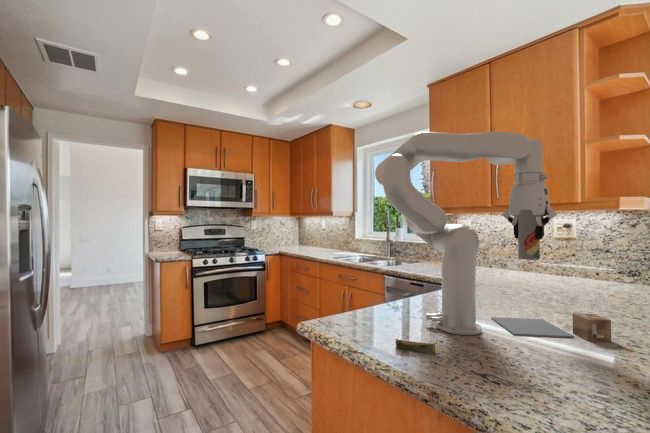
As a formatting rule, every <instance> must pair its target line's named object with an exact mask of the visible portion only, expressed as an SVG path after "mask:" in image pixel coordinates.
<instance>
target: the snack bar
mask: <svg viewBox="0 0 650 433" xmlns="http://www.w3.org/2000/svg"><path fill="white" fill-rule="evenodd" d="M395 350H399V351H407V352H414V353H421V354H426V355H436V343H430V342H420V341H413V340H412V341H410V340H405V339H404V340H403V339H398V338H395Z"/></svg>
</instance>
